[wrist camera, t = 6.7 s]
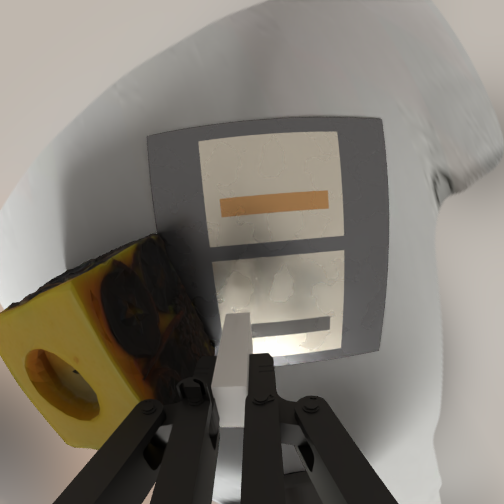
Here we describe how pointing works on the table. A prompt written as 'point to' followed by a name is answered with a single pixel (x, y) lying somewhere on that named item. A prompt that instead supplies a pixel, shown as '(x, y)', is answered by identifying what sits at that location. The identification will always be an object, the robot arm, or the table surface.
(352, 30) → the table surface
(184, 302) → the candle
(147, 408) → the robot arm
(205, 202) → the label plate
